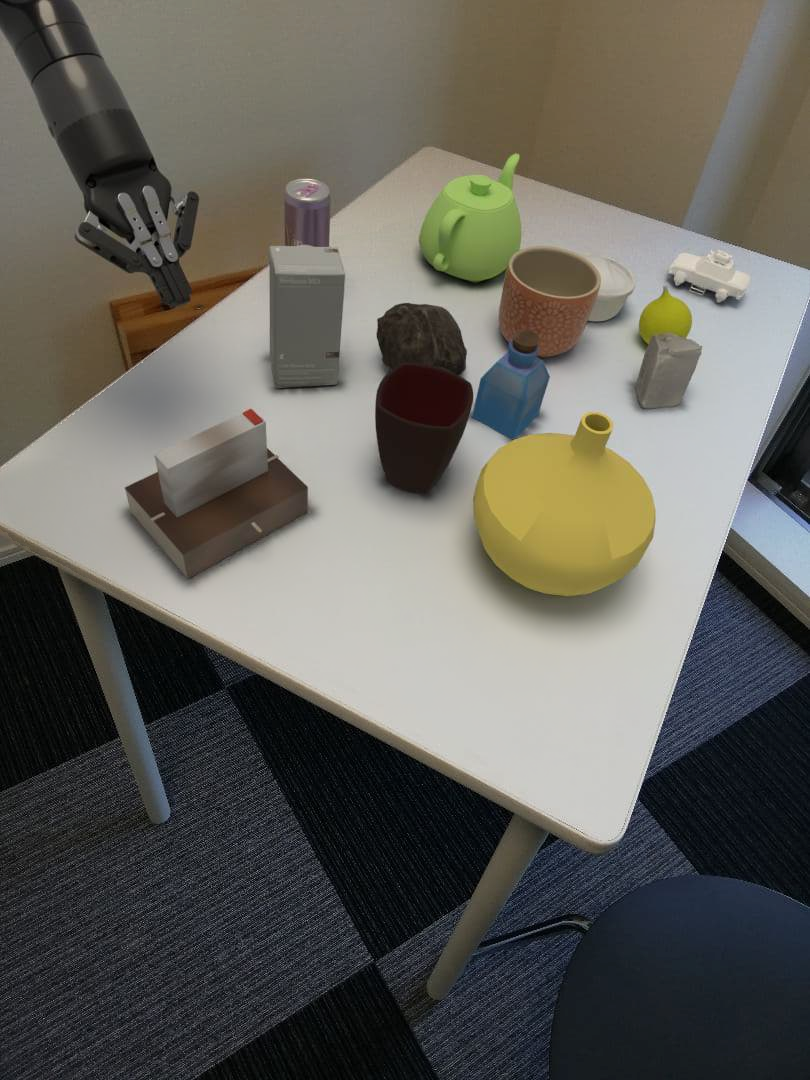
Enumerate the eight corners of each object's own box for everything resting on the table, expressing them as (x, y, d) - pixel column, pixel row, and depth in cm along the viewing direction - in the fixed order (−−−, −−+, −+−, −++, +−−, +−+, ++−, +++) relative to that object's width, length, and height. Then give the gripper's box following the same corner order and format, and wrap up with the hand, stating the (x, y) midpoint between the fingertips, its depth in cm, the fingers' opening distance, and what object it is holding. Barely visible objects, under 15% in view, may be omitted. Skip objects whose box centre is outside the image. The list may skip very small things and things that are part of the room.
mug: (357, 490, 87) (364, 409, 78) (397, 415, 95) (407, 334, 86) (440, 516, 86) (457, 438, 76) (473, 438, 94) (491, 359, 85)
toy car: (672, 267, 125) (689, 228, 120) (744, 294, 122) (764, 255, 117) (661, 283, 121) (677, 244, 116) (735, 312, 118) (755, 272, 113)
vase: (629, 640, 78) (706, 517, 63) (451, 604, 78) (486, 473, 63) (627, 508, 89) (691, 379, 75) (472, 477, 90) (506, 343, 75)
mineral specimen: (700, 397, 103) (716, 352, 96) (644, 419, 102) (656, 375, 95) (669, 362, 107) (682, 317, 100) (615, 383, 106) (624, 338, 99)
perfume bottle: (497, 393, 100) (516, 314, 91) (537, 415, 98) (562, 337, 89) (471, 417, 97) (489, 338, 87) (513, 440, 95) (536, 361, 86)
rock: (478, 385, 99) (478, 316, 92) (395, 405, 98) (389, 337, 90) (451, 344, 106) (450, 277, 99) (373, 362, 104) (366, 295, 97)
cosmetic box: (274, 390, 96) (270, 277, 84) (269, 354, 100) (264, 242, 88) (341, 386, 98) (347, 275, 86) (333, 351, 102) (337, 241, 90)
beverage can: (335, 290, 111) (339, 188, 99) (311, 308, 108) (312, 205, 96) (302, 274, 113) (302, 173, 101) (277, 292, 109) (274, 189, 98)
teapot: (463, 215, 129) (477, 134, 118) (542, 248, 124) (564, 167, 114) (391, 270, 116) (400, 184, 106) (477, 308, 112) (494, 223, 102)
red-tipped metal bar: (177, 518, 76) (167, 466, 71) (164, 503, 77) (153, 452, 72) (268, 470, 82) (265, 420, 76) (255, 457, 83) (251, 406, 77)
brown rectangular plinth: (198, 593, 76) (194, 568, 73) (120, 501, 82) (112, 474, 79) (320, 523, 83) (321, 497, 80) (239, 443, 90) (237, 416, 86)
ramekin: (639, 315, 115) (651, 283, 111) (585, 335, 110) (596, 303, 106) (588, 276, 121) (598, 245, 116) (535, 294, 116) (544, 262, 112)
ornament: (624, 330, 112) (647, 268, 105) (666, 327, 114) (693, 266, 106) (645, 361, 108) (671, 299, 100) (689, 357, 110) (718, 296, 102)
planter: (538, 380, 103) (559, 309, 94) (473, 332, 108) (488, 262, 100) (596, 348, 109) (621, 279, 100) (532, 304, 114) (551, 236, 106)
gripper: (29, 122, 65) (129, 318, 69) (168, 92, 71) (252, 273, 76) (19, 159, 71) (111, 336, 76) (147, 129, 78) (225, 294, 82)
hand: (181, 304), depth 76 cm, fingers closed
